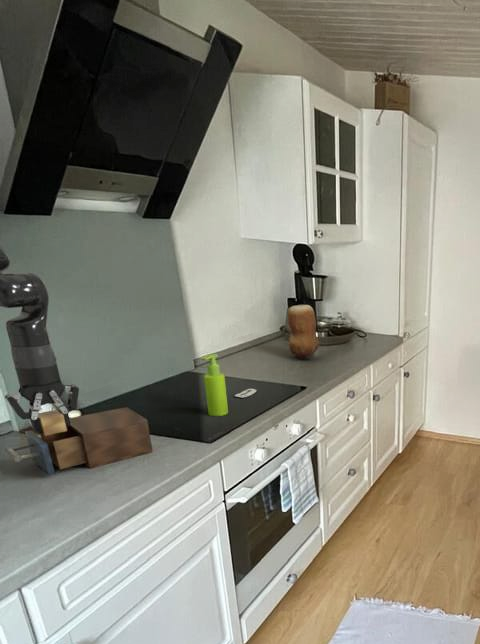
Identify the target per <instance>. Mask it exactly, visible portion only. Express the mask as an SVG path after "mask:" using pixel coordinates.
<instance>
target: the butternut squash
mask: <svg viewBox="0 0 480 644" xmlns="http://www.w3.org/2000/svg"><path fill="white" fill-rule="evenodd" d="M287 322H288V325H289V329H290V337H289V339H288V348H289V350H290V352H291V354H293V355H294V356H296V358H299V359H301V360H309V359H311V358H312V357H313V356H314V354H315V353H316V352H317V350H318V349H319V345H320V344H319V339H318V337H317V331H316V330H317V320H316V313H315V310H314V308H313V307H312V306H311V305H309V304H297V305H292V306H290V307H288V310H287Z"/></svg>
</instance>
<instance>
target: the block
mask: <svg viewBox="0 0 480 644" xmlns="http://www.w3.org/2000/svg"><path fill="white" fill-rule="evenodd" d="M38 419H39V420H40V423H41V427H42V431H43V434H44V435H45V436H46V435H51V434H55V433H60V432H65V431H67V428H66V424H65V420H64V416H63V414H62V413H60V411H59V410H58V409H53V410H48V411H43V412H39V413H38Z"/></svg>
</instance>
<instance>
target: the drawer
mask: <svg viewBox="0 0 480 644" xmlns="http://www.w3.org/2000/svg"><path fill="white" fill-rule="evenodd" d="M24 432H25V436H26V437H25V438H26V440H27V444H24V445H21V446H15V447H11V446H7V447H5V448H4V451H5V453H6V454H7V455H8V456H9V457H10V458H11V459H12V460H13V461H14V462H17V463H19V462H21V461H22V460H25V459H28V458H32V460H33V462H35V463H36V464H37V465H38V467H40V468H41V469H42V470H43V471H44V472H45V473H46V474H47V475H48V476H50V475H53V474H55V469H54V465H55V466H56V467H57V468H58V469H59V470H65V469H68V468H71V467H75V466H79V465H83V464H84V463H88V461H87V457H86V453H85V448H84V444H83V440H82V436H81V435H80V434H79V433H77V432H76V431H75V430H73V429H72V428H71V427H70V426H68V428H67V431H65V432H60V433H55V434H51V435H46V436H45V435H44V434H43V433H41V434H39V436H38V435H37V434H36V432H35V431H34V430H31V429H29V430H25V431H24ZM24 449H29V450H30V453H28V454H24V455H20V454H19V453H18V452H17V451H20V450H24ZM53 464H54V465H53ZM84 465H85V464H84Z"/></svg>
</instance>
